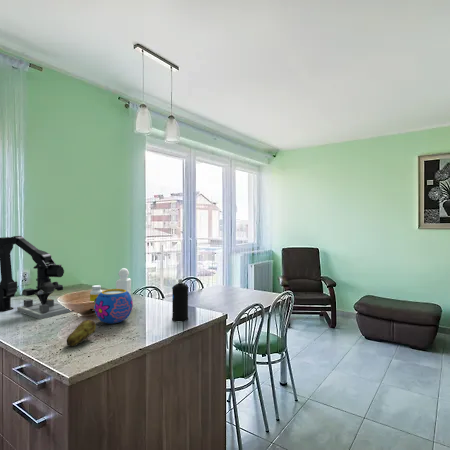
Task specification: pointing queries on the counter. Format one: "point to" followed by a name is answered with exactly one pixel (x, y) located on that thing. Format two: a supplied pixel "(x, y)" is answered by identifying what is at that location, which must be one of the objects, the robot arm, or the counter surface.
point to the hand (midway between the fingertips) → (43, 305)
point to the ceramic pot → (113, 305)
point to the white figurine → (124, 280)
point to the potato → (81, 332)
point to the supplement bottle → (95, 292)
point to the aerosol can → (180, 301)
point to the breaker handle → (50, 302)
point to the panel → (52, 313)
